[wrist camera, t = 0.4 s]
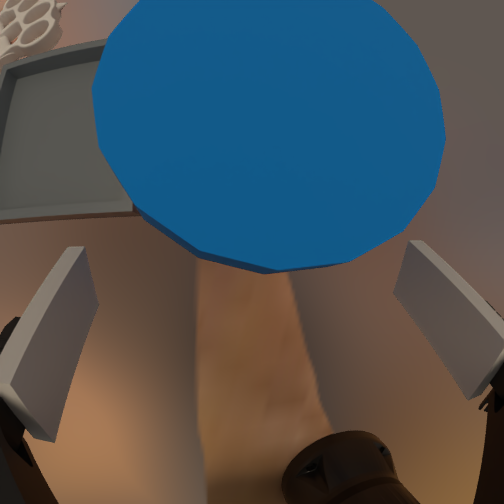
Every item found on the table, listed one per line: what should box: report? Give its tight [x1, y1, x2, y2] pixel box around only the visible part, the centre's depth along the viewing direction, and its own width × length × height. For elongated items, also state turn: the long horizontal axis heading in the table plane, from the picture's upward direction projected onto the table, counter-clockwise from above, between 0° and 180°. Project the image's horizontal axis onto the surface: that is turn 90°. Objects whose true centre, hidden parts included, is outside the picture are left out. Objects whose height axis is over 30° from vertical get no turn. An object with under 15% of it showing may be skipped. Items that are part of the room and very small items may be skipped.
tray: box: [0, 39, 141, 224], centre depth 28 cm, size 20×20×4 cm
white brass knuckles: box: [0, 0, 67, 74], centre depth 27 cm, size 3×18×15 cm
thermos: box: [92, 0, 446, 274], centre depth 20 cm, size 11×11×25 cm
